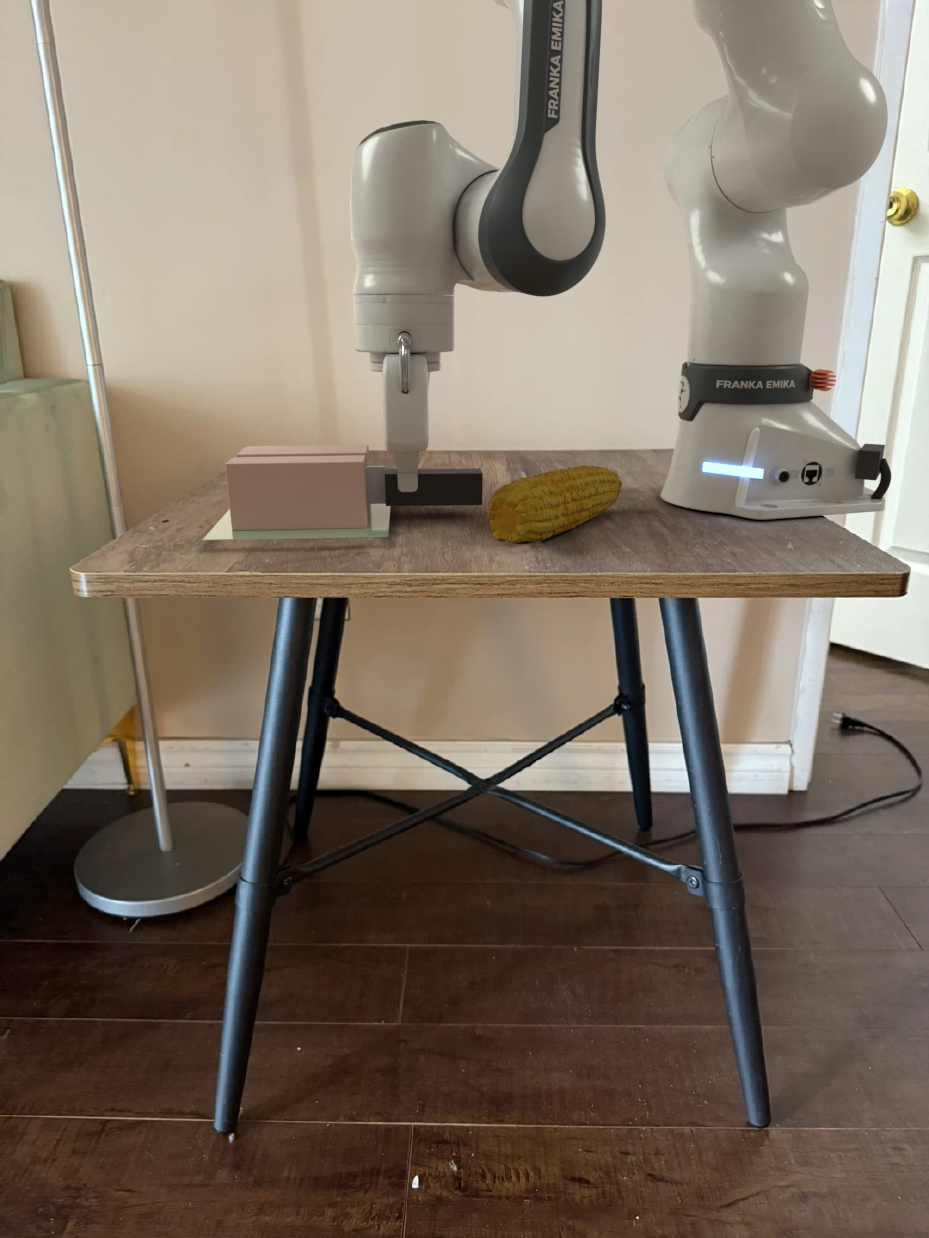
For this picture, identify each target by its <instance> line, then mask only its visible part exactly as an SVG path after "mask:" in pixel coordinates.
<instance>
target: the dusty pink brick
mask: <svg viewBox="0 0 929 1238" xmlns="http://www.w3.org/2000/svg"><path fill="white" fill-rule="evenodd" d="M224 467H225V475H226V484H227V496H228V505H229V506H228V507H229V509H230V516H231V526H232V531H243V530H293V529H343V528H367V523H368V502H367V479H366V457H365V455H348V456H282V457H236V456H233V457H232V458H230V459H229V460H228V461H227V462H226V463H225V465H224Z"/></svg>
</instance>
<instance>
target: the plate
mask: <svg viewBox="0 0 929 1238" xmlns="http://www.w3.org/2000/svg"><path fill="white" fill-rule="evenodd" d="M391 508H392V506H386V504H371V506H370V512H369V515H368V523H367V528H343V529H293V530H243V531H232V526H231V516H230V508H229V509H228V510H227V511H226V512H225V513H224V514H223V515H222V517H221V518H220V519H219V520H218V521H217V522H216V524H215V525H214V526H213V527H212V528H211V529H210V530H209V532H208V533H206V535H205V536H204V537H203V538H202V541H235V540H236V541H238V540H239V541H240V540H243V541H244V540H284V539H285V540H288V539H289V540H290V539H293V540H294V539H335V538H339V539H342V538H378V537H379V538H386V537H389V532H390V531H389V529H390V517H391Z"/></svg>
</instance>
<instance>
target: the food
mask: <svg viewBox="0 0 929 1238" xmlns="http://www.w3.org/2000/svg"><path fill="white" fill-rule="evenodd" d="M622 486H623V481H622V479H620V477H619V474H618V473H617V472H615V471H612V470H611V469H608V467H602V466H598V465H586V464H583V465H580V466H574V467H568V468H559V469H558V468H557V469H556V468H555V470H548V471H546V472H541V473H538V474H534V475H533V476H525V477H520V478H517V479H515V480H513V481H511V482H509V483H506V484H504V485H502V486H501V487H499V488H498V489H497V490H496V491H495V492H494V493H493V495H492V497H491V499H490V501H489V502H488V510H487V520H489V521H490V522H489V526H490V529H491V534H492V536H493V537H494V538H495V540H497V541H503V542H506V543H512V544H513V543H514V544H521V543H525V542H527V543H534V542H537V541H546V540H547V539H550V538H552V537H553V536H556V535H559V534H561V533H563V532H566V531H569V530H572V529H574V528H576V527H577V526H581V525H582V524H583V523H586V522H588V521H590V520H592V519H594V518H595V517H597V516H599V515H601V514H602V513H604V512H605V511H607V510H608V508H611V507H612V506H613V505H614V504H616V502H617V500H618V498H619V497H620V495H621V492H622V490H621V489H622Z"/></svg>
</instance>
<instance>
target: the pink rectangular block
mask: <svg viewBox="0 0 929 1238" xmlns="http://www.w3.org/2000/svg"><path fill="white" fill-rule="evenodd" d="M348 455H365V457H366V466H370V449H369V444H319V445H318V444H316V445H315V444H313V445H312V444H309V445H250V446H249V445H247V446H246V445H245V446H244V447H243V448H242V449H241V450H240V451H239V452H237V453H236V454H235V457H282V456H348ZM370 506H371V504H368V515H369V512H370Z"/></svg>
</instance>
